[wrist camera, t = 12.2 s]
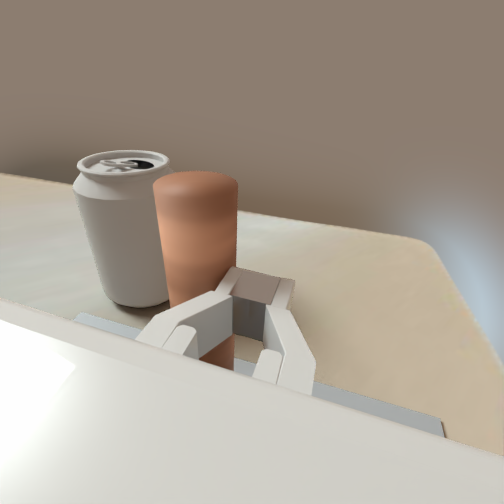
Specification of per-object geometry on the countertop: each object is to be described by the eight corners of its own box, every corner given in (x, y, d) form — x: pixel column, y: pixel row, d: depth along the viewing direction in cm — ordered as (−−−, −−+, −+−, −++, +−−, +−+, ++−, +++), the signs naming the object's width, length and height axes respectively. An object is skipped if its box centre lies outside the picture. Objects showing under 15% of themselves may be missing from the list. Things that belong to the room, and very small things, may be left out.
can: (205, 285, 28) (198, 159, 21) (133, 328, 23) (96, 182, 16) (160, 255, 32) (142, 141, 25) (90, 286, 27) (47, 155, 20)
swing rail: (73, 739, 9) (-1040, 1089, 1) (13, 673, 10) (-834, 602, 2) (240, 397, 18) (250, 179, 10) (202, 379, 19) (185, 166, 11)
